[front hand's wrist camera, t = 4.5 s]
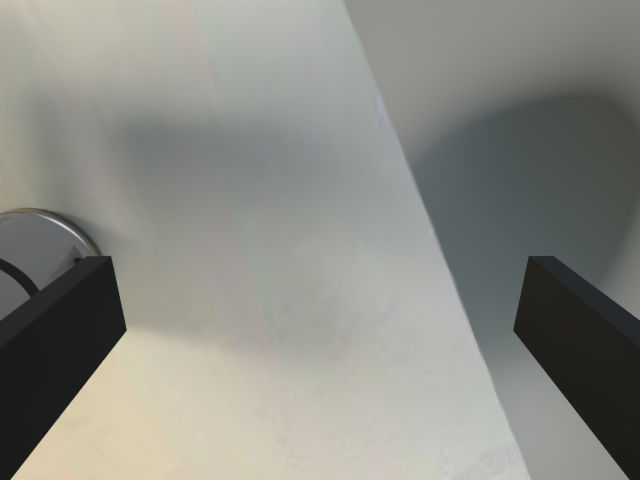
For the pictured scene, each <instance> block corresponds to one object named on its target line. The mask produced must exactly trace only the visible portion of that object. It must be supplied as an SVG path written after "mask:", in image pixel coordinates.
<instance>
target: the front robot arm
mask: <svg viewBox="0 0 640 480" xmlns="http://www.w3.org/2000/svg"><path fill="white" fill-rule="evenodd" d="M126 331H127V329H126V324H125V320H124V315H123V310H122V305H121V301H120V296H119V291H118V286H117V282H116V277H115V272H114V267H113V263H112V258H111V256H101V255H100V253H99V251H98V249H97V248H96V246H95V245H94V243H93V242H92V241H91V240H90V238H89V237H88V236H87V235H86V234H85V233H84V232H83V231H82V230H80V229H79V228H78V227H77V226H75V225H74V224H73V223H71V222H70V221H68V220H66V219H64V218H62V217H60V216H58V215H56V214H53V213H50V212H47V211H43V210H39V209H31V208H20V209H13V210H9V211H6V212H3V213H1V214H0V480H11V478H12V477H13V476H14V474H15V473H16V472H17V471H18V469H19V468H20V467H21V465H22V464H23V463H24V462H25V460H26V459H27V458H28V457H29V455H30V454H31V453H32V451H33V450H34V449H35V448H36V446H37V445H38V444H39V442H40V441H41V440H42V439H43V437H44V436H45V435H46V433H47V432H48V431H49V430H50V428H51V427H52V426H53V424H54V423H55V422H56V421H57V419H58V418H59V417H60V415H61V414H62V413H63V412H64V410H65V409H66V408H67V406H68V405H69V404H70V403H71V401H72V400H73V399H74V397H75V396H76V395H77V394H78V392H79V391H80V390H81V388H82V387H83V386H84V385H85V383H86V382H87V381H88V379H89V378H90V377H91V376H92V374H93V373H94V372H95V371H96V369H97V368H98V367H99V365H100V364H101V363H102V362H103V360H104V359H105V358H106V356H107V355H108V354H109V353H110V351H111V350H112V349H113V347H114V346H115V345H116V344H117V342H118V341H119V340H120V338H121V337H122V336H123V335H124V333H125V332H126ZM513 331H514V332H515V333H516V335H517V336H518V337H519V338H520V340H521V341H522V342H523V343H524V345H525V346H526V347H527V349H528V350H529V351H530V353H531V354H532V355H533V356H534V358H535V359H536V360H537V362H538V363H539V364H540V365H541V367H542V368H543V369H544V371H545V372H546V373H547V374H548V376H549V377H550V378H551V379H552V381H553V382H554V383H555V385H556V386H557V387H558V388H559V390H560V391H561V392H562V394H563V395H564V396H565V397H566V399H567V400H568V401H569V403H570V404H571V405H572V406H573V408H574V409H575V410H576V412H577V413H578V414H579V415H580V417H581V418H582V419H583V421H584V422H585V423H586V424H587V426H588V427H589V428H590V430H591V431H592V432H593V433H594V435H595V436H596V437H597V439H598V440H599V441H600V442H601V444H602V445H603V446H604V448H605V449H606V450H607V451H608V453H609V454H610V455H611V457H612V458H613V459H614V460H615V462H616V463H617V464H618V465H619V467H620V468H621V469H622V471H623V472H624V473H625V474H626V476H627V477H628V478H629V480H640V320H638V319H637V318H636V317H634V316H633V315H632V314H630V313H629V312H628V311H626V310H625V309H624V308H622V307H621V306H620V305H618V304H617V303H616V302H614V301H613V300H611V299H610V298H609V297H607V296H606V295H605V294H603V293H602V292H601V291H599V290H598V289H597V288H595V287H594V286H593V285H591V284H590V283H589V282H587V281H586V280H585V279H583V278H582V277H581V276H579V275H578V274H577V273H575V272H574V271H573V270H571V269H570V268H569V267H567V266H566V265H565V264H563V263H562V262H561V261H559V260H558V259H556V258H555V257H554V256H529V258H528V263H527V268H526V272H525V277H524V282H523V286H522V291H521V296H520V301H519V306H518V310H517V315H516V320H515V324H514V329H513Z"/></svg>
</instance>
